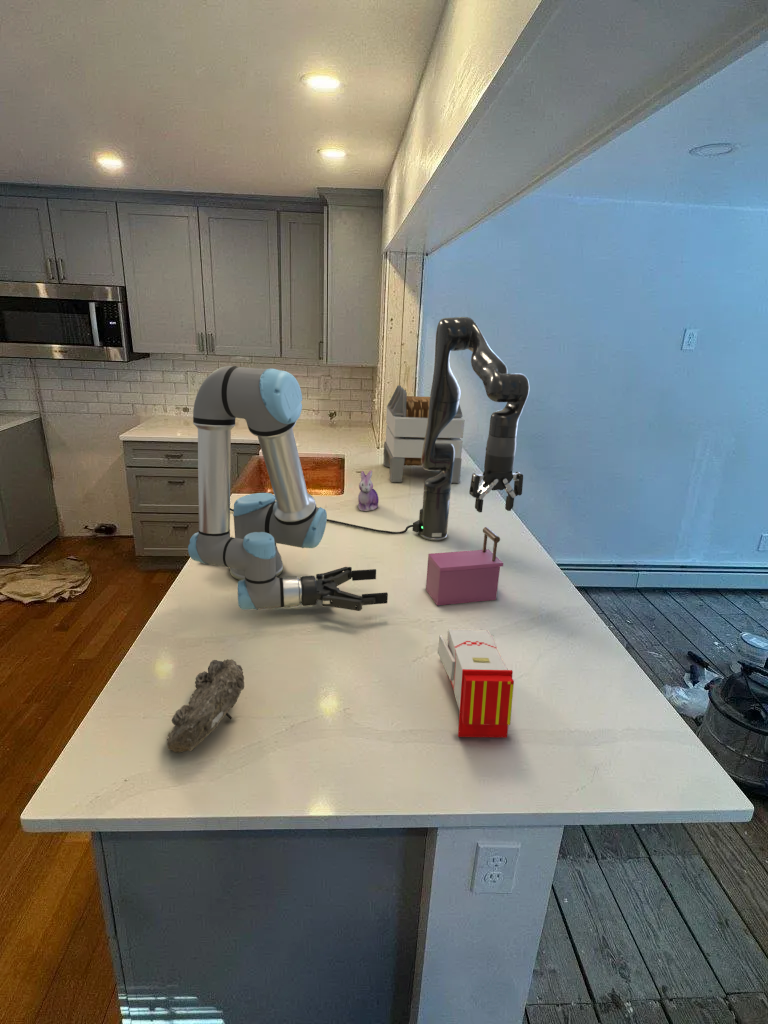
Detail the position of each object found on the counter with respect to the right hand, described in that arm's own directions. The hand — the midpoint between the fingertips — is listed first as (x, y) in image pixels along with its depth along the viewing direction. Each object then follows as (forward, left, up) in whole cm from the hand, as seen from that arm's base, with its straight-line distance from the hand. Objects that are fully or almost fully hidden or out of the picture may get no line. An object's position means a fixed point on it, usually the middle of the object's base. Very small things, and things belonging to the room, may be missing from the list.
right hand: (493, 510), depth 153 cm
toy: (+17, -43, -25) cm, 52 cm away
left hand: (-18, -25, -19) cm, 36 cm away
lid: (-4, -5, -15) cm, 16 cm away
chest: (-5, -6, -25) cm, 26 cm away
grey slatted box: (-80, +92, -25) cm, 124 cm away
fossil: (-18, -81, -25) cm, 86 cm away
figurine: (-68, +35, -25) cm, 80 cm away
